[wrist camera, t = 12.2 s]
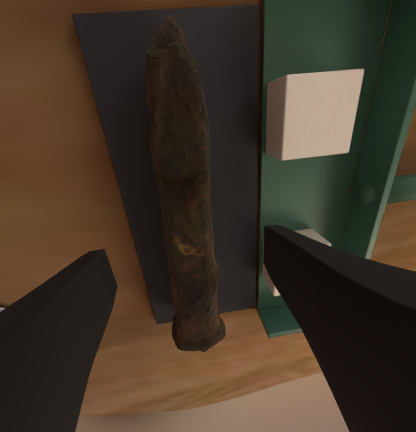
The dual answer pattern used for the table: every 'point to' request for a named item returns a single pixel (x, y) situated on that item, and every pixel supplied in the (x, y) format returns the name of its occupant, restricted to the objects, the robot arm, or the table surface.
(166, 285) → the desk mat
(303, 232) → the beige square block
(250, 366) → the table surface
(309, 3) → the dustpan
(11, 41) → the table surface
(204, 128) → the dark brown rough bar
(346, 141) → the beige rectangular prism
